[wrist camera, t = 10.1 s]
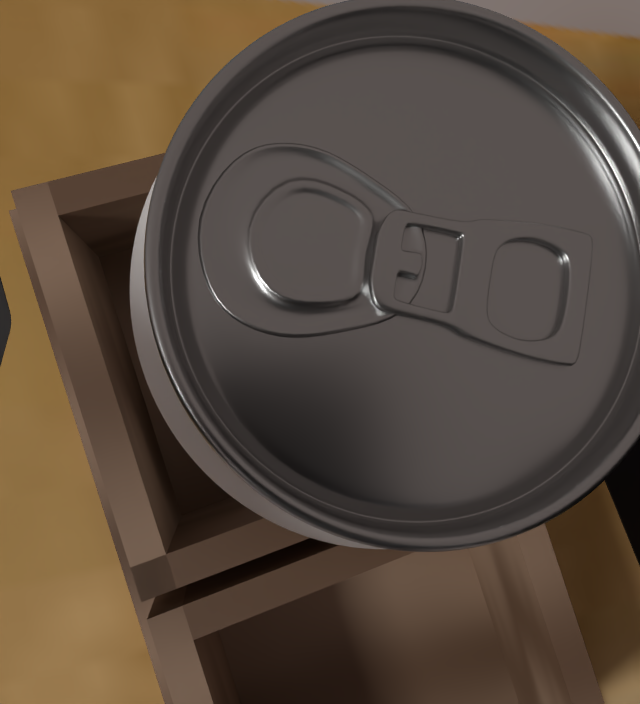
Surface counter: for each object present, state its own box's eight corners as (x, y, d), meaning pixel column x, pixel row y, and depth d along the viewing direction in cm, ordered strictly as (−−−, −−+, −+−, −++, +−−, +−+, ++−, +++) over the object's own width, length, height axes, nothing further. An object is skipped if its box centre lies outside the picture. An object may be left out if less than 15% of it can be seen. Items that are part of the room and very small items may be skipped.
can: (211, 227, 17) (170, -130, 5) (412, 269, 18) (751, 44, 6) (169, 437, 17) (21, 552, 5) (380, 471, 18) (688, 636, 6)
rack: (583, 745, 19) (706, 868, 14) (240, 913, 17) (245, 1126, 12) (379, 129, 19) (430, 40, 14) (21, 221, 17) (-62, 153, 12)
